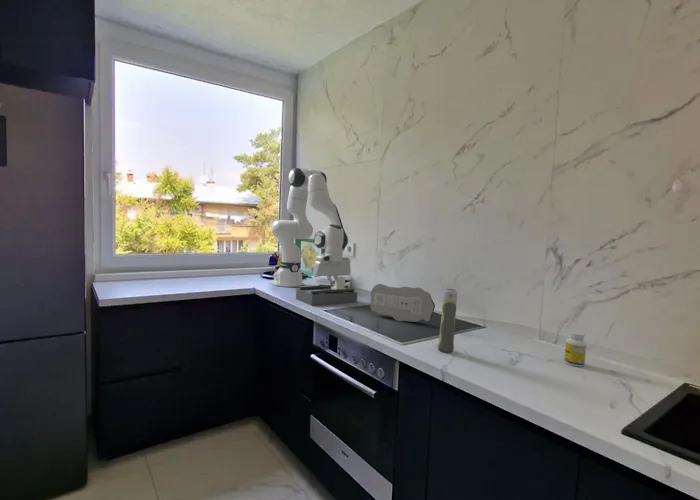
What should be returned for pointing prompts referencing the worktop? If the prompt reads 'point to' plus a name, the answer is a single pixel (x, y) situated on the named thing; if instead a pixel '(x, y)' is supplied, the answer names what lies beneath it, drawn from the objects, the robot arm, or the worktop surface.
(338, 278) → the breaker lever
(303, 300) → the breaker housing
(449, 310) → the grey tall cylinder
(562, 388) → the worktop surface
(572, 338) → the supplement bottle
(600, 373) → the worktop surface
